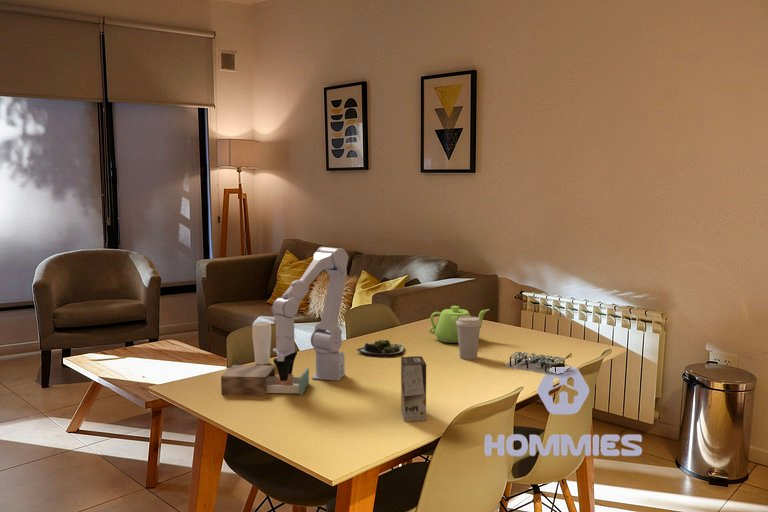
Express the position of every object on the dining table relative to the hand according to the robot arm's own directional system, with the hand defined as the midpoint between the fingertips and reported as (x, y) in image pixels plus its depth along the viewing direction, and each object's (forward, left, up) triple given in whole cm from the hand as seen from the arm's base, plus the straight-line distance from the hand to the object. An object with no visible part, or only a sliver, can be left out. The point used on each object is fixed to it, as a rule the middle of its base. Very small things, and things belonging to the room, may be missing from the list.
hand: (286, 377), depth 210 cm
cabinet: (+12, +2, -4) cm, 13 cm away
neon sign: (-80, -53, -4) cm, 96 cm away
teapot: (-45, -79, -4) cm, 91 cm away
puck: (0, 0, -3) cm, 3 cm away
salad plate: (-18, -53, -4) cm, 56 cm away
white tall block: (+20, -26, -4) cm, 33 cm away
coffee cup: (-52, -52, -4) cm, 74 cm away
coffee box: (-44, +14, -4) cm, 47 cm away
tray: (+1, 0, -4) cm, 4 cm away
